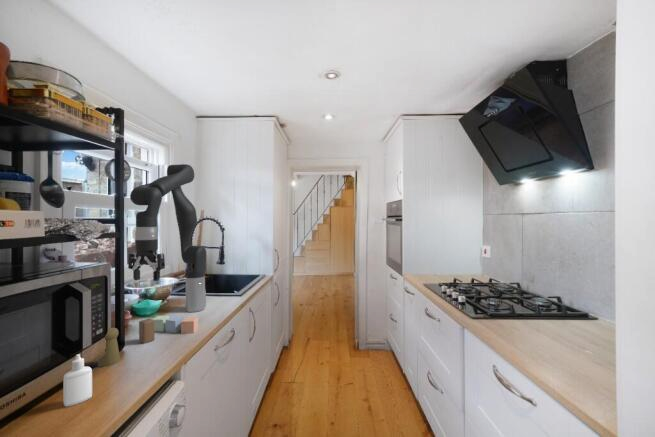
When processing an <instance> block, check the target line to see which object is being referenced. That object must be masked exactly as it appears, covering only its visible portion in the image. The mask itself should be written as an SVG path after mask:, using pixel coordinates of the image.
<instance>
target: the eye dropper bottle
mask: <svg viewBox="0 0 655 437" xmlns="http://www.w3.org/2000/svg"><path fill="white" fill-rule="evenodd" d="M62 384H63V394H62V395H63V399H62V400H63V406H64V407H72V406H75V405H78V404H81V403H84V402H86V401H88V400H90V399H91V398H92V397H93V370H92V368H91V367H90V366H85V358H83V357H81V354H80V353H79V354H76V355H75V359H73V360H72V361H71V370H69V371H68V372H66V373H65V374H64V375H63V383H62Z"/></svg>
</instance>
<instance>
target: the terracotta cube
mask: <svg viewBox="0 0 655 437" xmlns="http://www.w3.org/2000/svg"><path fill="white" fill-rule="evenodd" d="M198 330H199V318H198V317H184V320H183V321H181V330H180V333H181V335H182V334H183V335H185V334H194V333H195V332H197V331H198Z"/></svg>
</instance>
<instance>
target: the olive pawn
mask: <svg viewBox="0 0 655 437" xmlns="http://www.w3.org/2000/svg"><path fill="white" fill-rule="evenodd" d="M109 328H110V330H109V331H108V332H107V334H106V336H105V340H106V349H105V352H106V354H105V355H104V356H102V357H101V358H99V357H98V358H99V359H98V358H97V367H98V368H104V367H103V366H106V367H111V366H113V365H116V364H117V363H119V362H120V361H121V357H120V351H119V343H118V339H117V338H118V336H119V334H120V333H119V329H118V328H116V327H109ZM110 365H111V366H110Z"/></svg>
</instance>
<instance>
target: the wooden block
mask: <svg viewBox="0 0 655 437" xmlns="http://www.w3.org/2000/svg"><path fill="white" fill-rule="evenodd" d="M152 319H153V318H146V319H142V320H139V322H138V342H140V343H142V344H148V343H149V342H153V341H154V340H155V331H154V320H152Z"/></svg>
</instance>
